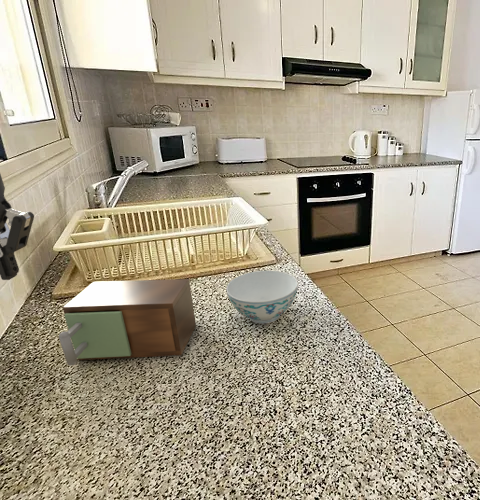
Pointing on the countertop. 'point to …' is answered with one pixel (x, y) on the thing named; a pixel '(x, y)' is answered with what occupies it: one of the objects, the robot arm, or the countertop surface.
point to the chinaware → (262, 294)
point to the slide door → (94, 336)
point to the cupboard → (144, 313)
